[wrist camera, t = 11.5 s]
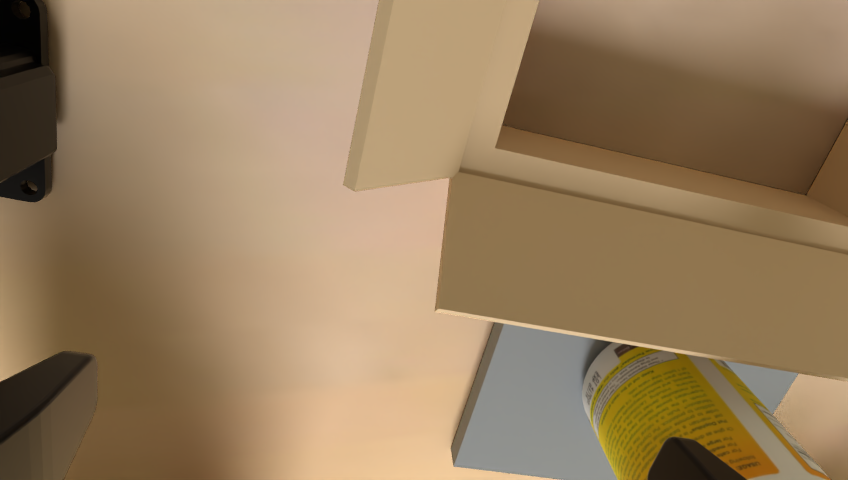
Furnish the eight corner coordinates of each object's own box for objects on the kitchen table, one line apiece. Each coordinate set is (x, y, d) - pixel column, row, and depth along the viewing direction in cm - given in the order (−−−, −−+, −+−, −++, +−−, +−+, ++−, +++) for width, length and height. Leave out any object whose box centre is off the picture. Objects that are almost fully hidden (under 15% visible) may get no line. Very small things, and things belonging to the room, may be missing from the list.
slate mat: (451, 448, 25) (453, 466, 24) (535, 204, 21) (542, 214, 20) (708, 481, 27) (719, 498, 27) (838, 267, 23) (857, 279, 22)
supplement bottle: (557, 418, 24) (672, 702, 14) (609, 307, 21) (783, 557, 12) (675, 438, 25) (853, 715, 15) (736, 333, 22) (986, 583, 13)
